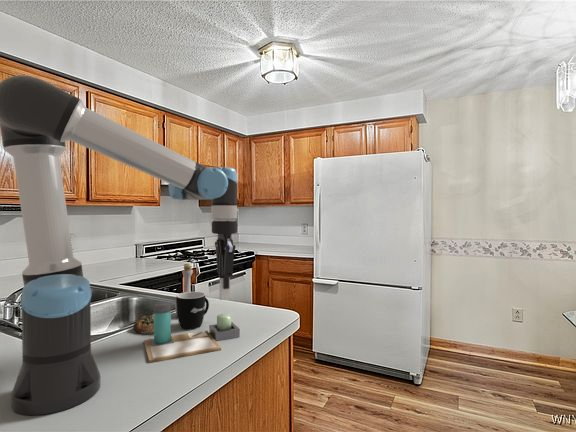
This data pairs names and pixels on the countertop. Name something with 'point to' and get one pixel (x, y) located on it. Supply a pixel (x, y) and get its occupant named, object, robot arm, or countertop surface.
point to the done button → (223, 322)
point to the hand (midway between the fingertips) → (224, 298)
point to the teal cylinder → (162, 323)
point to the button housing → (224, 332)
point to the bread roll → (144, 325)
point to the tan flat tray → (181, 346)
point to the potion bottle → (186, 279)
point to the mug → (191, 309)
